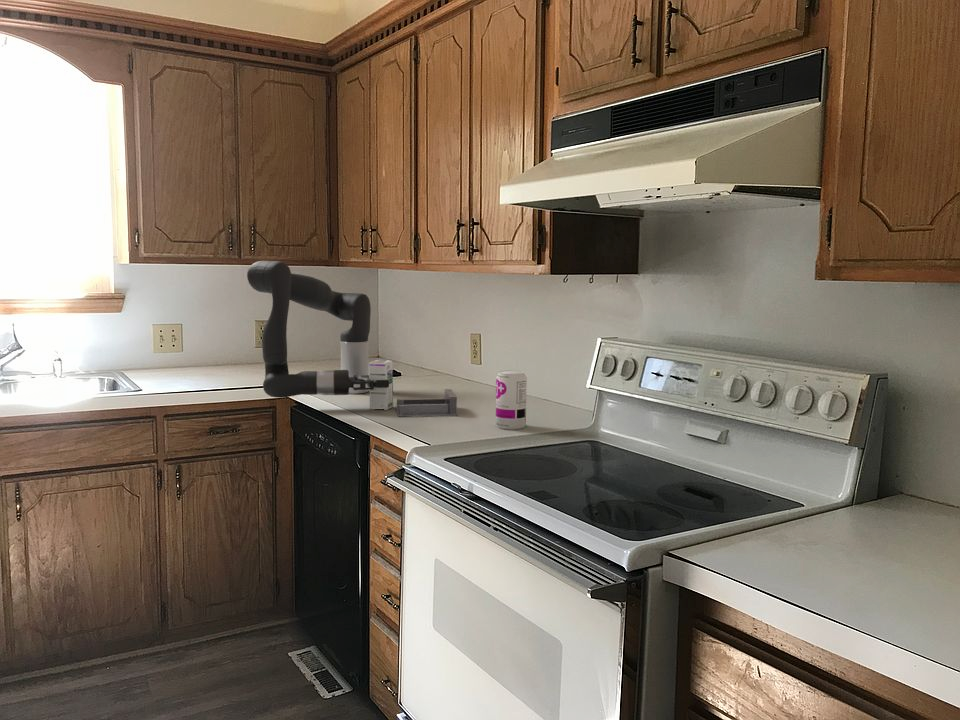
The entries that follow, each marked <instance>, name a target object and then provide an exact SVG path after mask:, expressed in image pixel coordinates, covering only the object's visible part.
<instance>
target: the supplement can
mask: <svg viewBox="0 0 960 720" xmlns="http://www.w3.org/2000/svg"><path fill="white" fill-rule="evenodd" d="M527 379H528V378H527V376H526V373H525V372H524V371H521V370H514V369H513V370H507V369H506V370H501V371H498V374H497V375H496V377H495V380H496V381H495V426H497V428H499V429H502V430H509V431H510V430H512V431H513V430H514V431H515V430H522V429H523V428H524V427H525V426H527V382H528V381H527Z"/></svg>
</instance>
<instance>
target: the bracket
mask: <svg viewBox="0 0 960 720" xmlns="http://www.w3.org/2000/svg"><path fill="white" fill-rule="evenodd" d="M457 398H458V397H457V395H456V394H455V393H454V391H453V389H452V388H449V389H448V388H444V398H438V397H437V398H397V399H396V407H395V408H396V412H398V413H397V416H418V417H419V416H422V417H455V416H456V417H457V416H458V411H457V409H458V408H457V406H458V405H457V404H458V403H457V402H458V399H457ZM419 418H420V417H419Z"/></svg>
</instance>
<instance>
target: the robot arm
mask: <svg viewBox="0 0 960 720" xmlns="http://www.w3.org/2000/svg"><path fill="white" fill-rule="evenodd" d="M246 277H247V282H248V284H249V285H250V287H252V289H253V290H255V291H257V292H259V293H267V294H271V295H272V296H271V297H272V306H271V311H270V313H269V316H268V319H267V321H266V323H265V325H264V328H263V331H262V335H261V337H262V338H261V345H262V346H261V347H262V349H261V350H262V359H263V362H264V371H265V374H264V380H263V383H262V388H263V391H264V393H266V395H268V396H269V397H272V398H287V397H295V396H299V395H300V396H301V395H307V396H308V395H309V396H311V395H312V396H313V395H314V396H315V395H321V396H348V395H349V394H363V393H368V392H369V390H373V389H375V388H388V387H389V381H388V380H370V378H369V335H370V330H371V309H372V308H371V301H370V298H369V296H367V295H366V294H364V293H360V292H359V293H358V292H356V293H354V292H338V291H335V290H332V288H331V287H330V285H329V284H328V283H326V282H325V281H323V280H322V279H318V278H316V277H313V276H308V275H305V274H304V275H303V274H299V273H292V272H291V268H290V267H289V265H288V264H287V263H285V262H284V261H278V260H277V261H274V260H259V261H256V262H254V263H252V264H251V265H250V266H249V267H248V269H247V274H246ZM290 301H291V302H294V303H296V304H299V305H302V306H304V307H306V308H310V309H313V310H316V311H321V312H327V313H328V314H330V315H332V316H334V317H335V318H337V319H339V320H342V321H350V322H351V321H352V324H351V327H350V328H348V329H347V330H344V331H342V332H341V333H340V341H339V342H340V369H324V370H306V371H305V370H304V371H300V372H297V373H290V372H289V364H288V339H287V330H288V329H287V328H288V327H287V326H288V317H289V309H290Z"/></svg>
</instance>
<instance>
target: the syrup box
mask: <svg viewBox="0 0 960 720" xmlns="http://www.w3.org/2000/svg"><path fill="white" fill-rule="evenodd" d="M368 370H369V378H370V380H388V381H389V387H388V388H375V389H373V390H369V391H368V392H369V409H370V410H374V409H384V410H383V411H388V410H389V409H391V408H393V407H394V378H393V377H394V376H393V375H394V373H393V372H394V371H393V360H391V359H375V360H373V361H370V362H369V361H368Z"/></svg>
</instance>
